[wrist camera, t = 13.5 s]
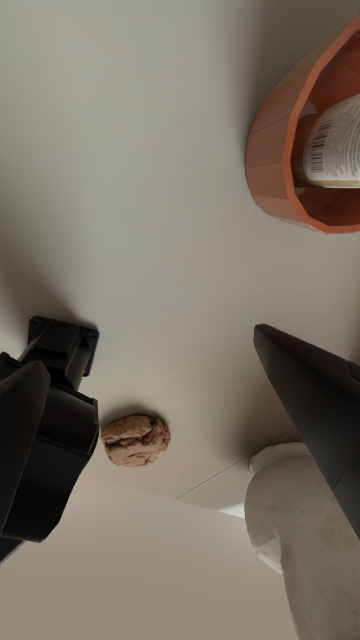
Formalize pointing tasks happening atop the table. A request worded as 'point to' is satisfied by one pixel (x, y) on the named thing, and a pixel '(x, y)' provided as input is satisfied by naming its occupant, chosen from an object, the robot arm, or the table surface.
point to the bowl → (279, 131)
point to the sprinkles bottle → (328, 147)
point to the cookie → (135, 440)
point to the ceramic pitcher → (305, 541)
